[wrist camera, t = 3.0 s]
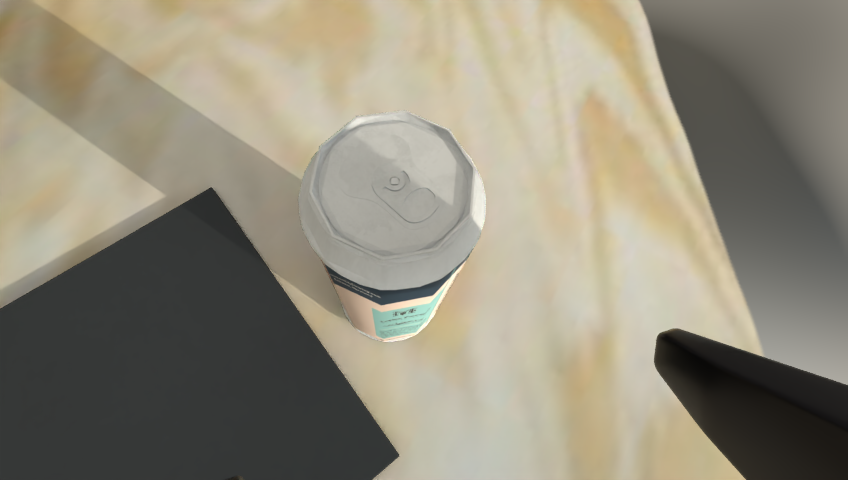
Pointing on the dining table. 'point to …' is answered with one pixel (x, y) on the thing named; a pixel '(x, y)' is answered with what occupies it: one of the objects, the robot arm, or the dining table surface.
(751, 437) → the robot arm
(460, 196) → the beer can
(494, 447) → the dining table surface
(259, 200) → the dining table surface
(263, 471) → the mat
